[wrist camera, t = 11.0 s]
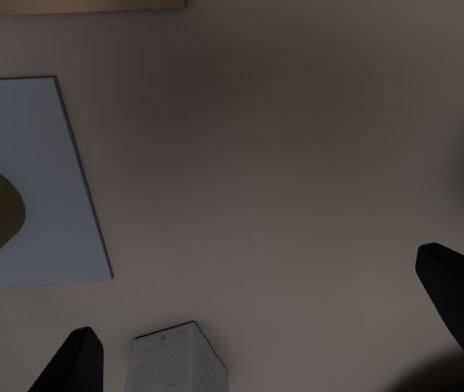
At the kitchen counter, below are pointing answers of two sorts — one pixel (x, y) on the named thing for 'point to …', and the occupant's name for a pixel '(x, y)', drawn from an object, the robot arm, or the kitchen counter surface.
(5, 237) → the cork
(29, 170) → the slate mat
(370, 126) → the kitchen counter surface
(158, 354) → the small box
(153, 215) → the kitchen counter surface
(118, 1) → the walnut frame
